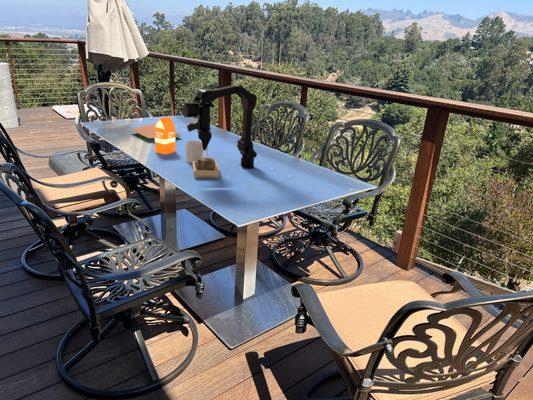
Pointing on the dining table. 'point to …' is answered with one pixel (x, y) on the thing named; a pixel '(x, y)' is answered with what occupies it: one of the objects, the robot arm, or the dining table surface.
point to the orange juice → (165, 136)
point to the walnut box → (205, 164)
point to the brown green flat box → (149, 132)
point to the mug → (194, 151)
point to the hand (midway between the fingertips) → (203, 147)
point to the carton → (206, 172)
